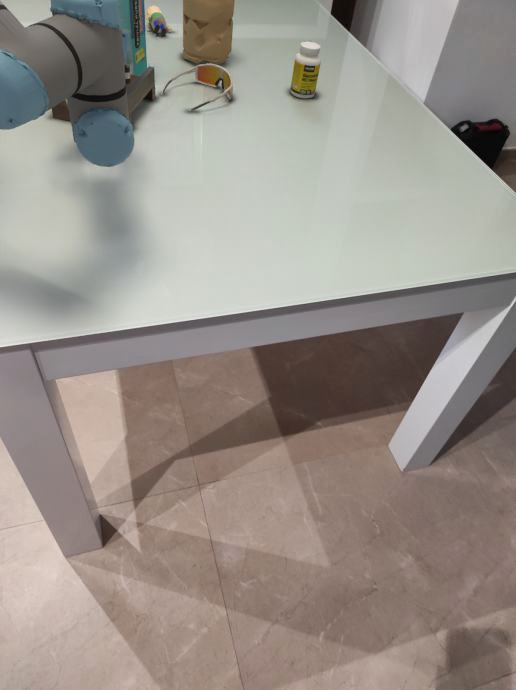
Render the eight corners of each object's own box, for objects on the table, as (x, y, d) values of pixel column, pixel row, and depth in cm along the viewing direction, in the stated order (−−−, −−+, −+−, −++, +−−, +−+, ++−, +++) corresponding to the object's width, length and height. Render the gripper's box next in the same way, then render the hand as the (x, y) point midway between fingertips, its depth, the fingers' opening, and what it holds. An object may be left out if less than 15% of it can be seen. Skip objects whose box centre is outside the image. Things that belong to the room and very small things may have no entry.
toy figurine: (170, 44, 145) (162, 26, 151) (177, 28, 142) (168, 11, 149) (143, 30, 140) (136, 12, 147) (150, 14, 137) (142, -4, 144)
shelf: (52, 117, 105) (46, 85, 100) (87, 84, 117) (83, 53, 112) (128, 132, 105) (125, 100, 100) (155, 97, 117) (154, 67, 112)
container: (175, 61, 132) (174, -22, 118) (192, 46, 140) (193, -34, 127) (222, 72, 130) (226, -12, 117) (236, 56, 139) (242, -24, 125)
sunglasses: (244, 99, 121) (244, 77, 117) (196, 123, 114) (193, 102, 110) (204, 77, 126) (202, 56, 122) (156, 100, 120) (153, 78, 116)
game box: (63, 60, 125) (39, -83, 105) (79, 52, 129) (60, -86, 109) (133, 83, 120) (123, -61, 100) (149, 74, 124) (142, -66, 104)
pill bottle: (299, 100, 124) (307, 51, 116) (285, 90, 127) (292, 41, 119) (319, 97, 126) (328, 48, 118) (305, 87, 130) (313, 39, 121)
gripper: (24, 122, 75) (17, 60, 88) (159, 115, 80) (133, 58, 94) (11, 67, 69) (6, 10, 83) (157, 64, 75) (130, 12, 89)
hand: (74, 36), depth 89 cm, fingers closed on supplement bottle, 7 cm apart
